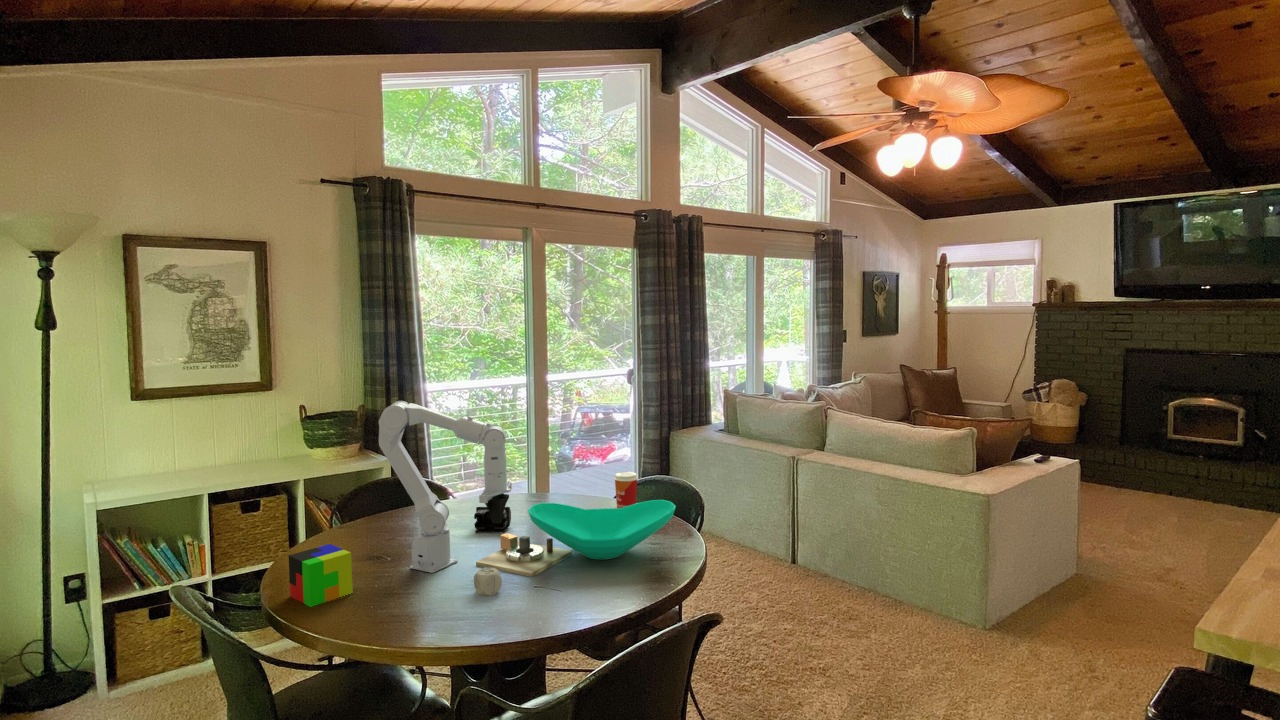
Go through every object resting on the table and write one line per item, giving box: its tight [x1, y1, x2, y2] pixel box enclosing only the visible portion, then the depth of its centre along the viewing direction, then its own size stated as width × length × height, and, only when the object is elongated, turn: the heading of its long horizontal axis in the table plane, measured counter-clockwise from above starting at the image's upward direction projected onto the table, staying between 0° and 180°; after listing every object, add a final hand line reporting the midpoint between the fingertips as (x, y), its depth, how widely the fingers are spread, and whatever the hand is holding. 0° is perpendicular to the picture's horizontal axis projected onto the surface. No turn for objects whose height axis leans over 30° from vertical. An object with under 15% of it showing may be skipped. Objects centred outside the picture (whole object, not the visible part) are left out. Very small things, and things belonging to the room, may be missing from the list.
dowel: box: [546, 537, 554, 553], centre depth 191 cm, size 2×2×4 cm
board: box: [475, 535, 573, 578], centre depth 188 cm, size 18×18×6 cm
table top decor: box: [527, 499, 677, 560], centre depth 190 cm, size 40×28×13 cm
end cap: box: [473, 506, 512, 534], centre depth 214 cm, size 10×7×7 cm
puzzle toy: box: [288, 543, 354, 608], centre depth 166 cm, size 10×10×10 cm
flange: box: [499, 532, 544, 562], centre depth 189 cm, size 14×10×4 cm
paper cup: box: [613, 471, 639, 508], centre depth 224 cm, size 8×8×14 cm
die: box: [473, 567, 503, 597], centre depth 167 cm, size 5×5×5 cm
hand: (496, 522), depth 187 cm, fingers closed
